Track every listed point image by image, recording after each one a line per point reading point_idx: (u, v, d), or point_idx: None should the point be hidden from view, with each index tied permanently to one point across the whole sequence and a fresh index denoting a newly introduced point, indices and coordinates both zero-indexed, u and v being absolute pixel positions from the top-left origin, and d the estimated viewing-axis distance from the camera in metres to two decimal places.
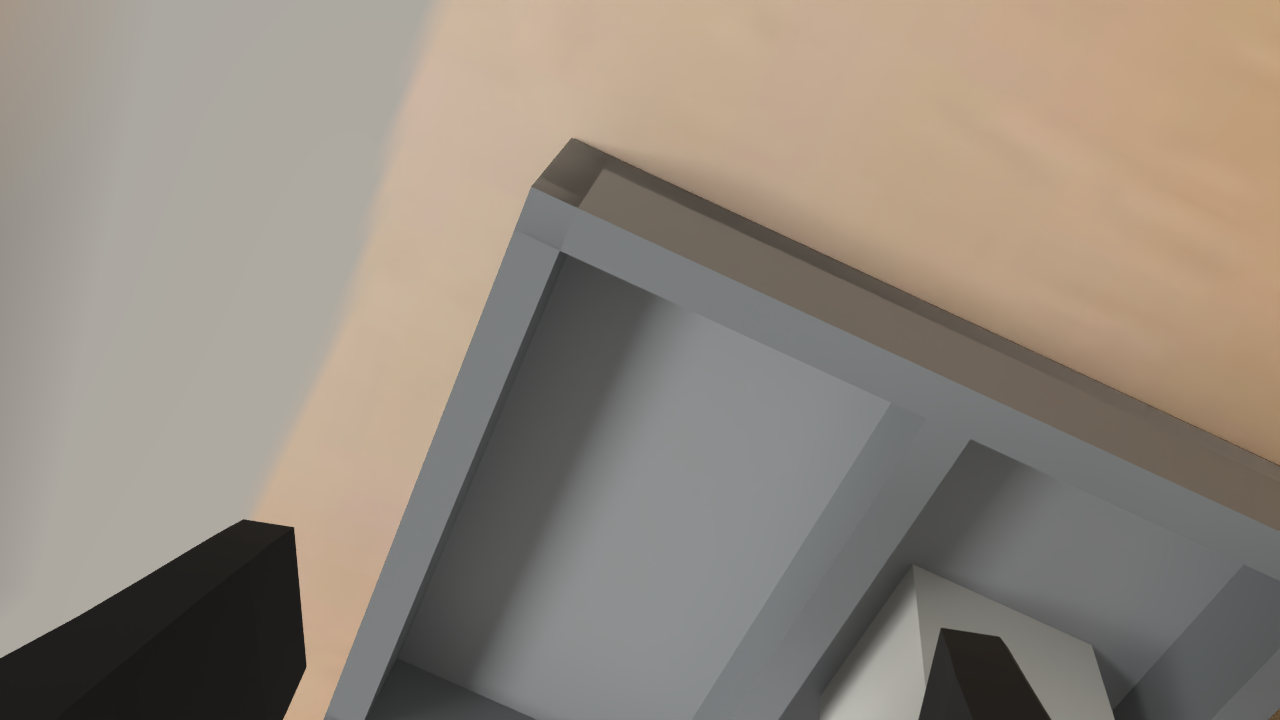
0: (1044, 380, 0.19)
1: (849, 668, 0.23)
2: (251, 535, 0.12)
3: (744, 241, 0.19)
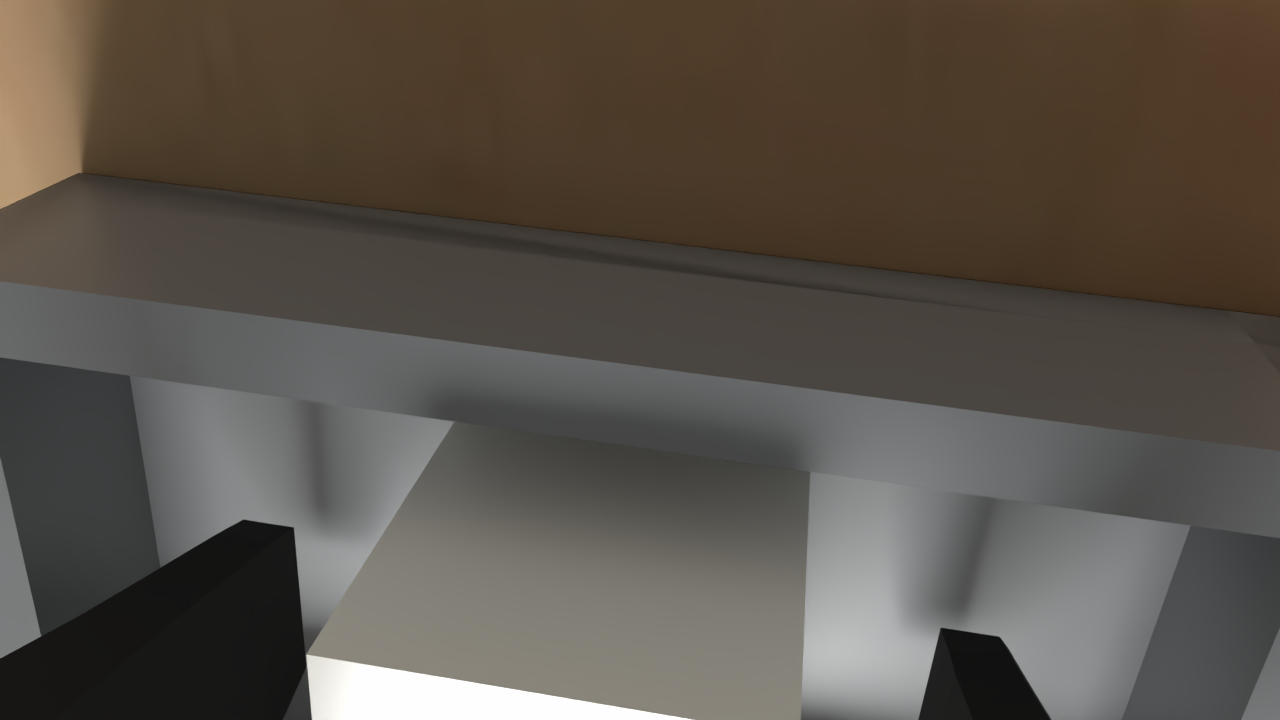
0: None
1: None
2: (251, 535, 0.12)
3: None
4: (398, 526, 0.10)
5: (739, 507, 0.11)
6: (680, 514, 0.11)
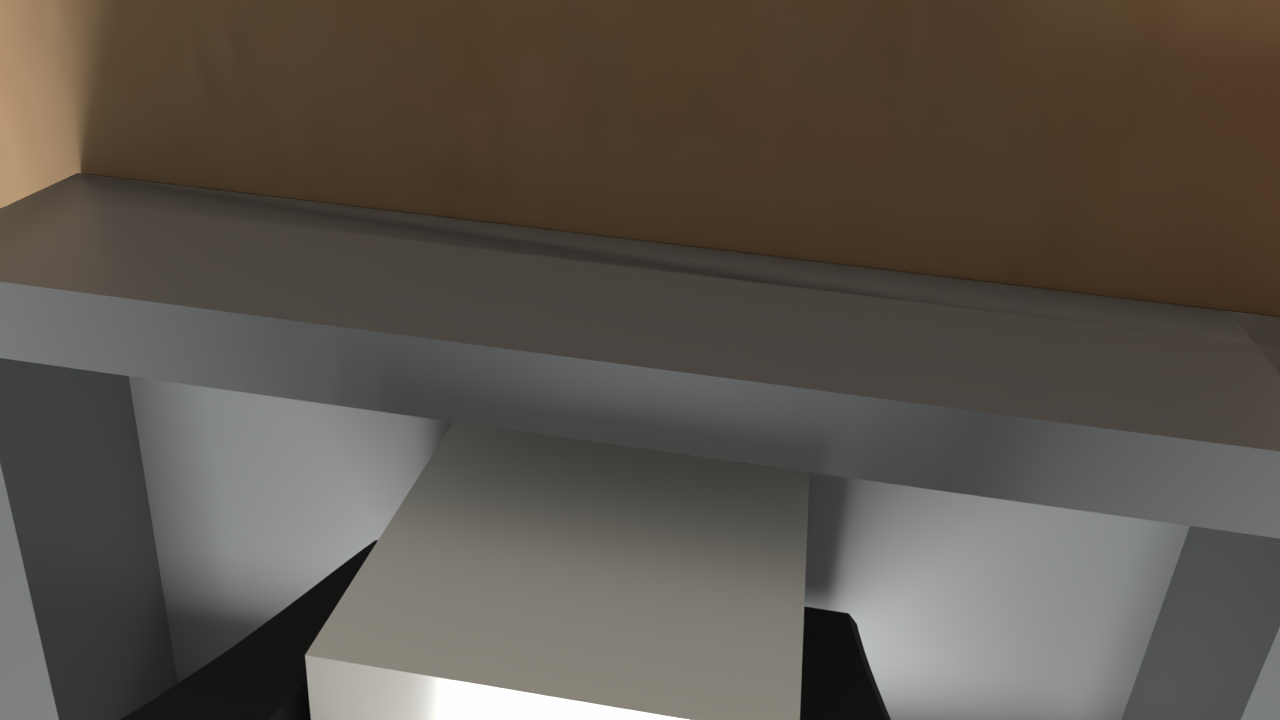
0: None
1: None
2: None
3: None
4: (397, 526, 0.10)
5: (738, 507, 0.11)
6: (679, 514, 0.11)
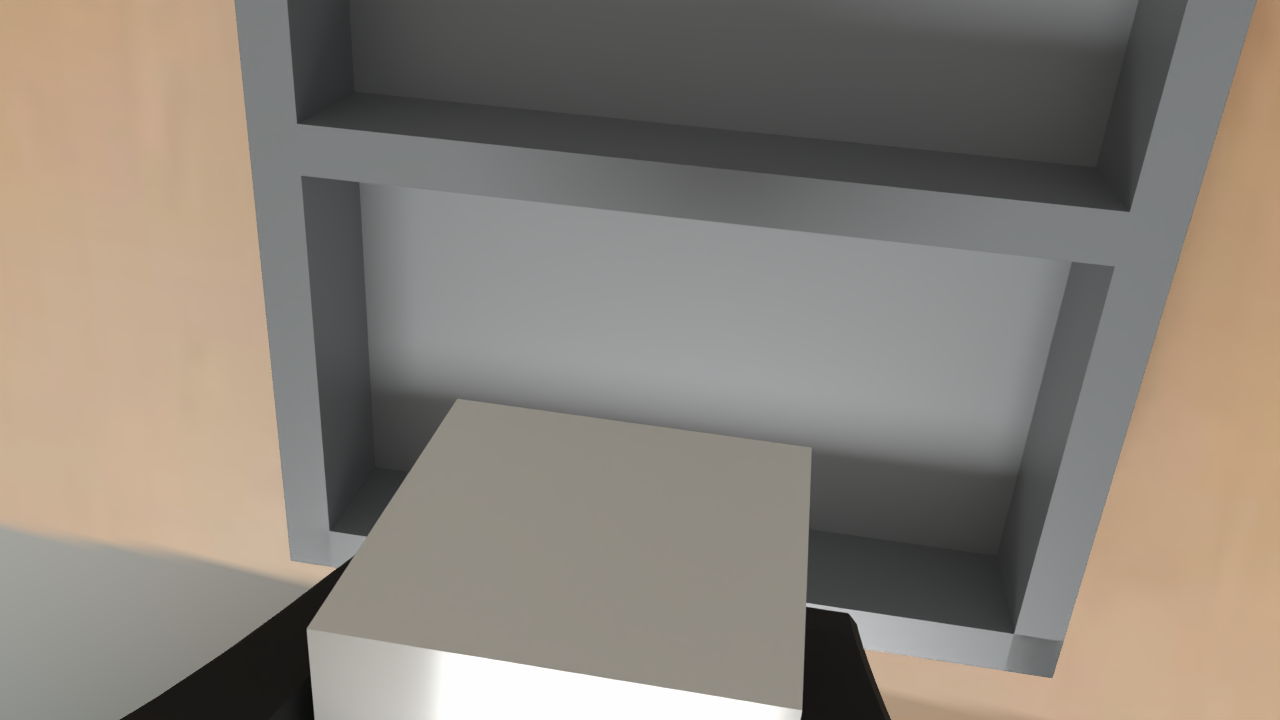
0: None
1: None
2: None
3: None
4: (399, 504, 0.10)
5: (740, 486, 0.11)
6: (681, 493, 0.11)
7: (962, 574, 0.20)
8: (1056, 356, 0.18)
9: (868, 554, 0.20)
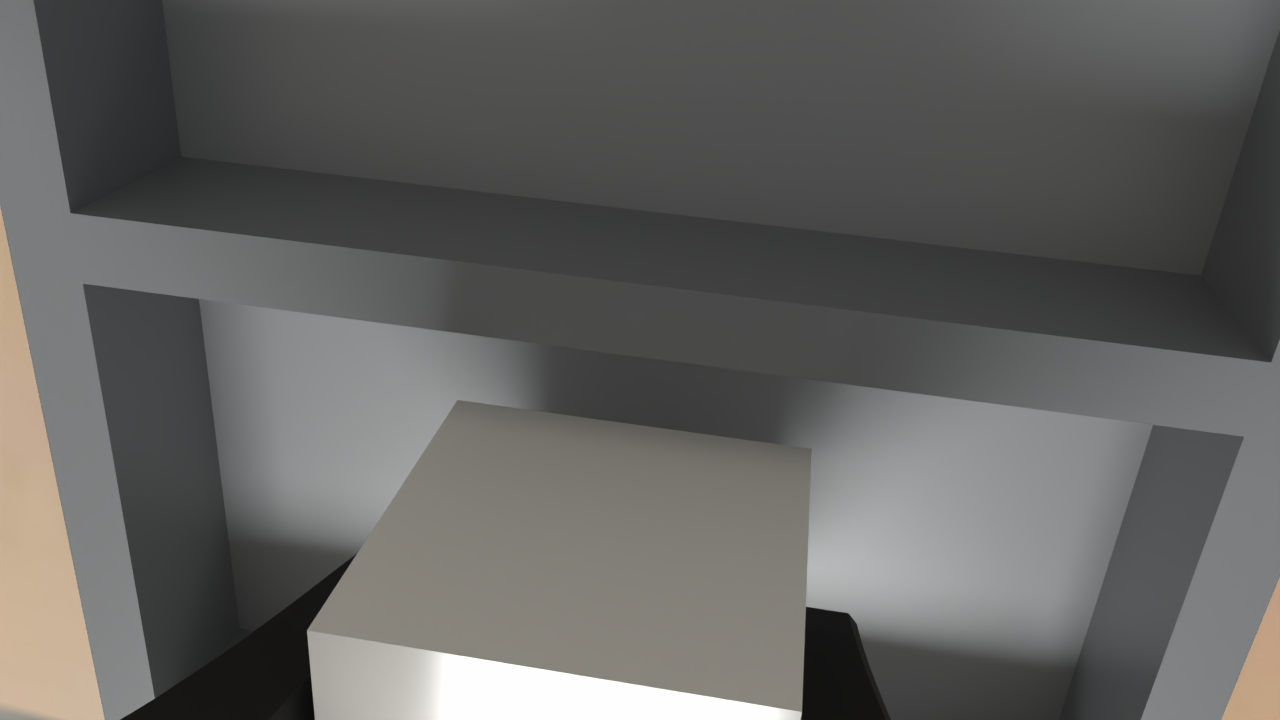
0: None
1: None
2: None
3: None
4: (399, 505, 0.10)
5: (740, 487, 0.11)
6: (681, 494, 0.11)
7: None
8: (1137, 527, 0.13)
9: None
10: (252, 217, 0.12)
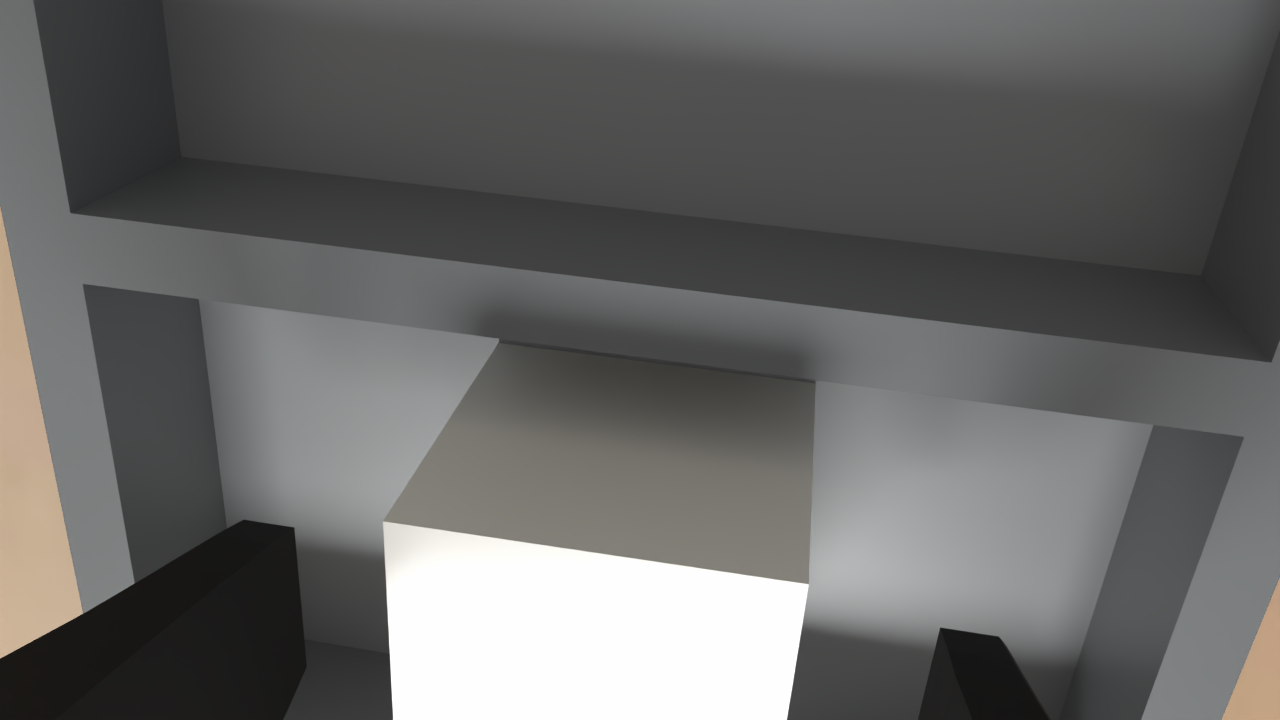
0: None
1: None
2: (252, 535, 0.12)
3: None
4: (453, 426, 0.12)
5: (753, 414, 0.13)
6: (701, 419, 0.12)
7: None
8: (1137, 527, 0.13)
9: None
10: (252, 217, 0.12)
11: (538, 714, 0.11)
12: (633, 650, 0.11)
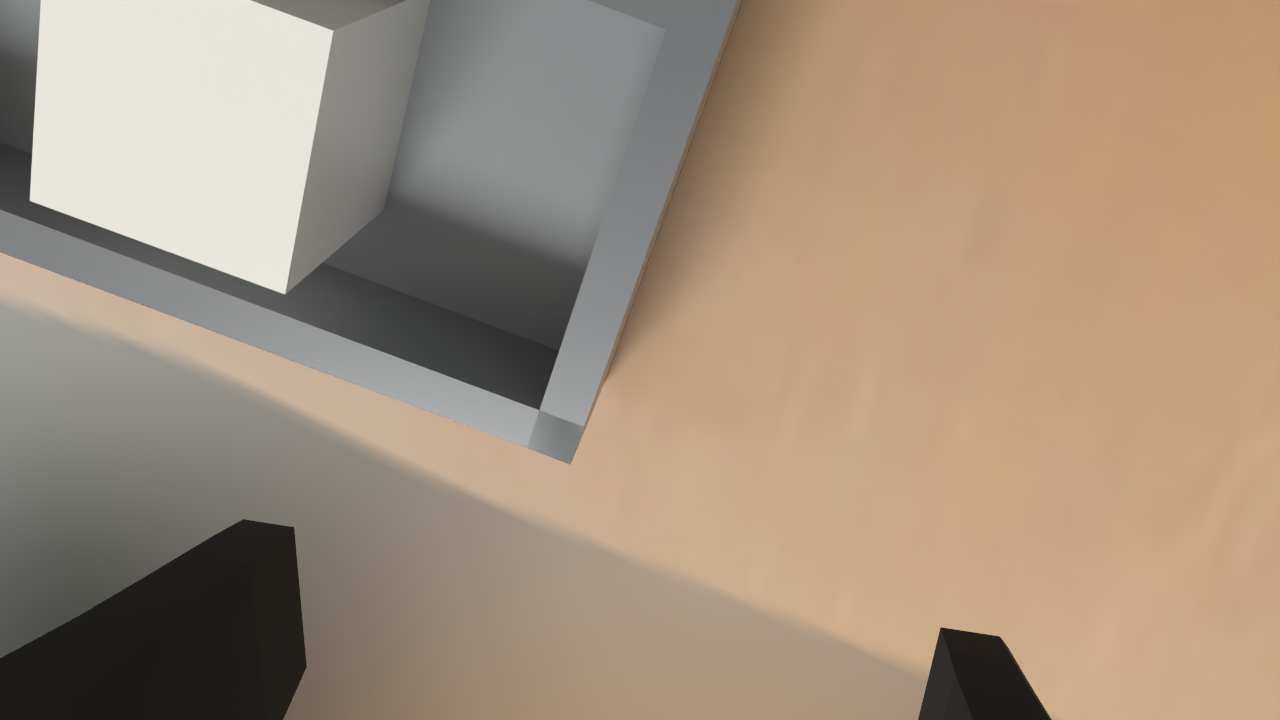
0: None
1: None
2: (251, 535, 0.12)
3: None
4: None
5: None
6: None
7: (522, 357, 0.20)
8: None
9: (438, 321, 0.20)
10: None
11: (140, 115, 0.15)
12: (212, 68, 0.15)
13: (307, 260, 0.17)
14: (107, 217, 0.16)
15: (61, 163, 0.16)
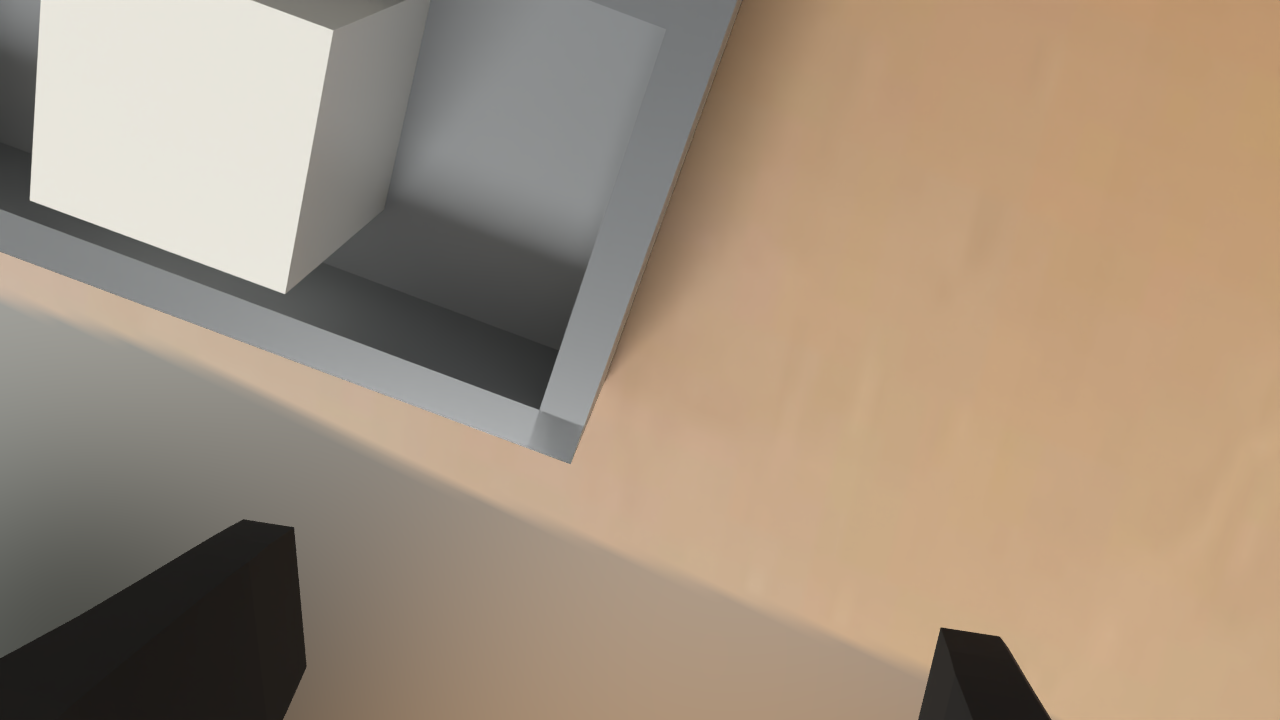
0: None
1: None
2: (252, 535, 0.12)
3: None
4: None
5: None
6: None
7: (522, 357, 0.20)
8: None
9: (438, 320, 0.20)
10: None
11: (140, 114, 0.15)
12: (212, 68, 0.15)
13: (307, 260, 0.17)
14: (107, 217, 0.16)
15: (61, 163, 0.16)
